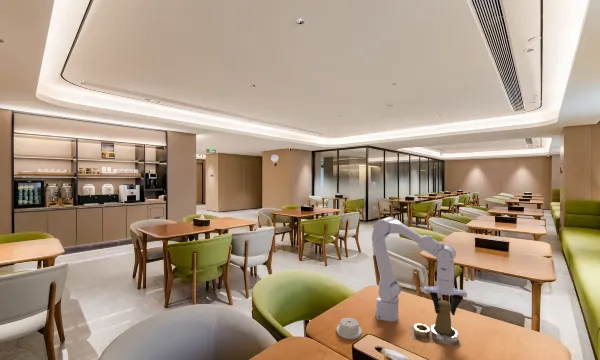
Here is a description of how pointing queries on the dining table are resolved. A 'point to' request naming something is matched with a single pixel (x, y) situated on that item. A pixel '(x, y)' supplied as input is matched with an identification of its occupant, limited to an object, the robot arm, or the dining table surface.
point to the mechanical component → (349, 328)
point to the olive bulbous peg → (443, 317)
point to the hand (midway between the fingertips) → (444, 313)
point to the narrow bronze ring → (421, 330)
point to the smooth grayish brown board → (430, 337)
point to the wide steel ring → (444, 339)
